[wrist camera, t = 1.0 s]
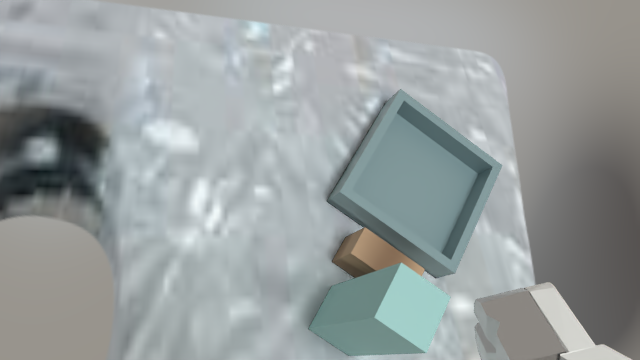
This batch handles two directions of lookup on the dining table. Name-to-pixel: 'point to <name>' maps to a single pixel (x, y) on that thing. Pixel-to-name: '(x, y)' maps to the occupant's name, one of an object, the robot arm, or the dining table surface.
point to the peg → (381, 313)
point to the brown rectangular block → (369, 254)
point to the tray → (417, 185)
